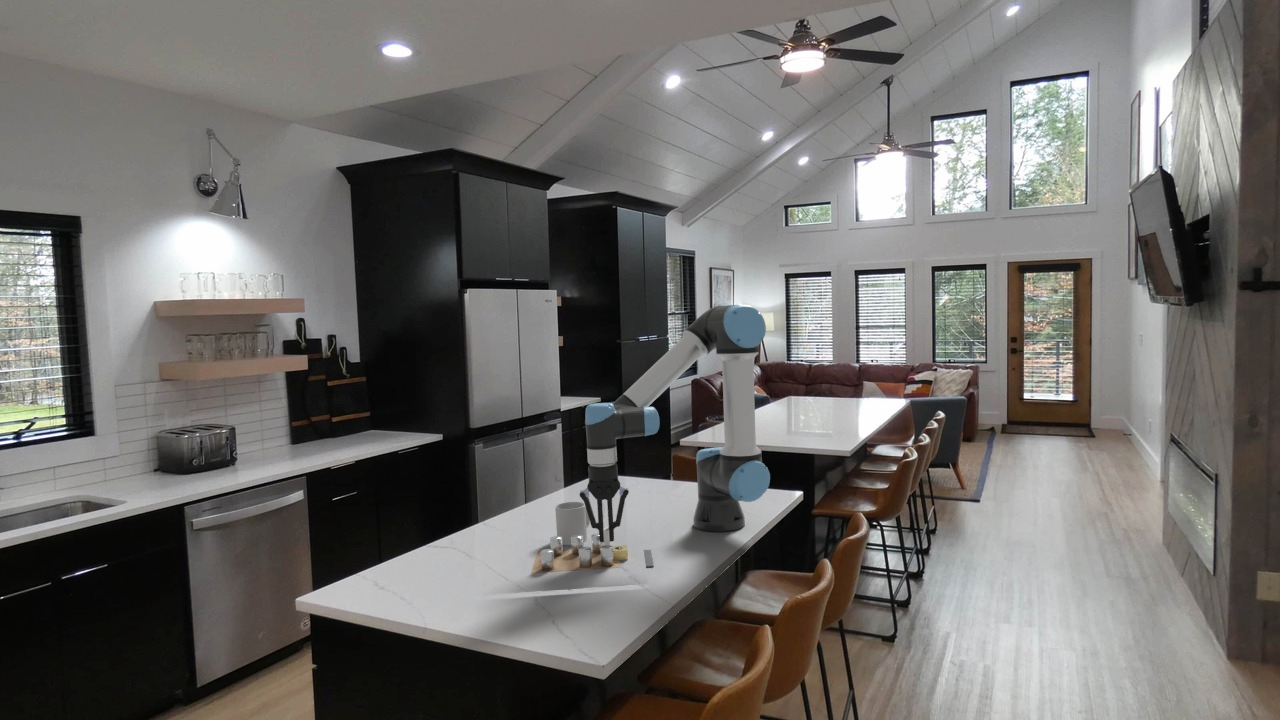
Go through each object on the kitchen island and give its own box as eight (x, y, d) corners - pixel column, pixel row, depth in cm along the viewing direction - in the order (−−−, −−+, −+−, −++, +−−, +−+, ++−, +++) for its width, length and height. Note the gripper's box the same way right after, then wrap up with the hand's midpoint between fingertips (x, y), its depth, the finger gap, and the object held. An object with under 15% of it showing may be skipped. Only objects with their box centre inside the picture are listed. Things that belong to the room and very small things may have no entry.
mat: (650, 550, 202) (650, 549, 202) (653, 567, 189) (653, 565, 189) (621, 552, 202) (620, 551, 202) (621, 569, 189) (621, 567, 189)
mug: (574, 550, 206) (572, 510, 206) (551, 546, 211) (548, 507, 211) (601, 538, 216) (599, 500, 216) (578, 534, 221) (575, 497, 220)
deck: (619, 551, 203) (618, 547, 203) (619, 571, 187) (619, 567, 187) (537, 556, 202) (537, 552, 202) (531, 577, 186) (531, 573, 186)
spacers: (613, 549, 202) (612, 532, 202) (614, 566, 188) (613, 548, 188) (545, 553, 202) (544, 536, 201) (541, 571, 187) (540, 553, 187)
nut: (627, 554, 197) (627, 544, 197) (627, 560, 193) (627, 550, 193) (610, 555, 197) (610, 545, 197) (610, 560, 193) (610, 550, 192)
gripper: (627, 459, 197) (632, 547, 199) (577, 462, 197) (582, 550, 198) (628, 465, 190) (633, 556, 191) (576, 468, 189) (581, 560, 191)
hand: (607, 553), depth 195 cm, fingers closed
